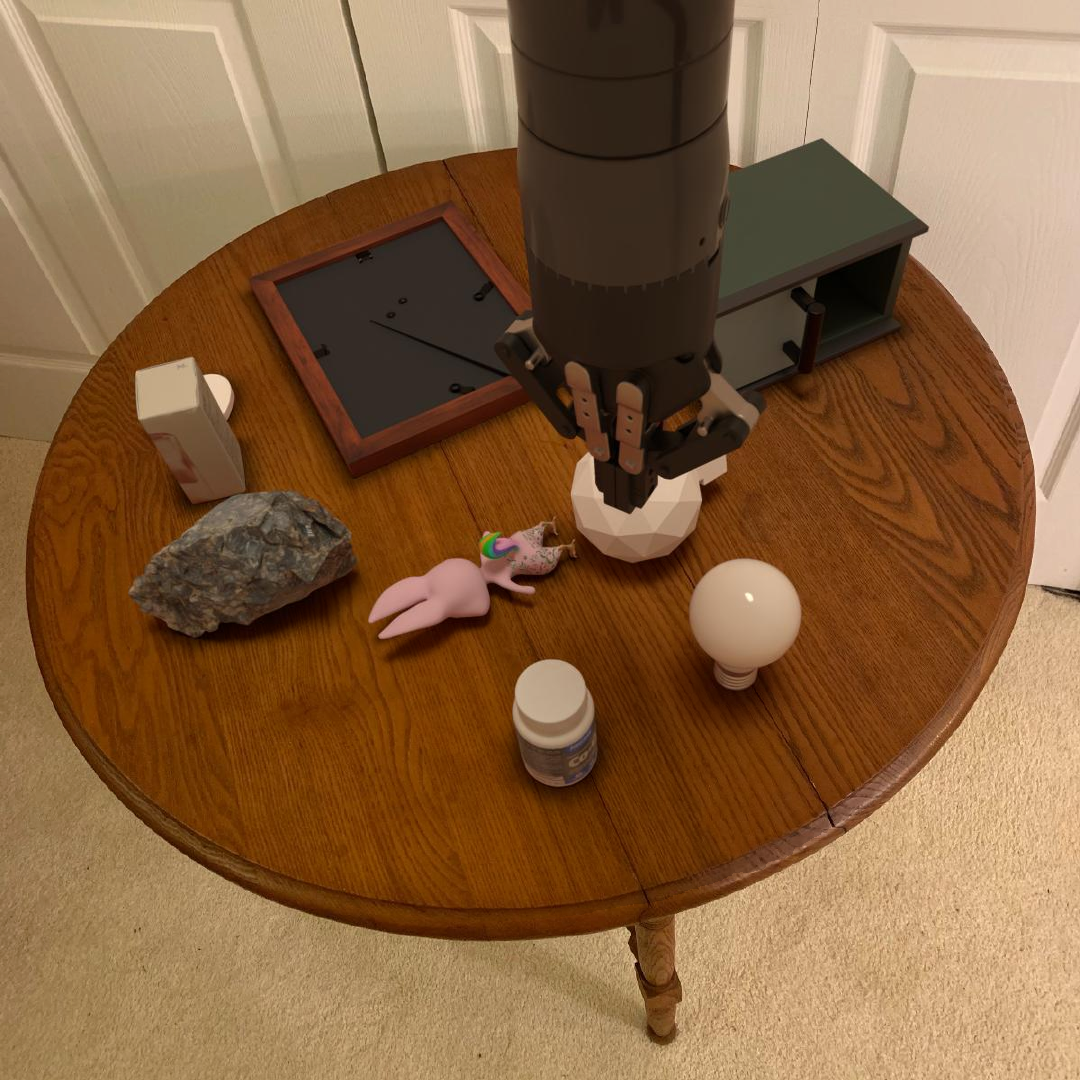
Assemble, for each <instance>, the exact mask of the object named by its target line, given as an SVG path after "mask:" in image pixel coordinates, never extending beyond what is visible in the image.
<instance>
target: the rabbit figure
mask: <svg viewBox="0 0 1080 1080" xmlns="http://www.w3.org/2000/svg"><path fill="white" fill-rule="evenodd" d="M556 518H557V516H556V515H555V516H554V517H553V518H552V520H551V521H544V520H543V521H540V522H539V523H538V524H537V525H536V526H533V527H530V528H528V529H524V530H518V531H516V532H514V533H513V534H512V535H511V536H510V537H499V536H500V535H501V534H502V531H497V532H491V531H489V530H486V531H484V532H483V534H482V537H481V538H480V540H479V542H478V551H479V553H480V554H479V556H480V562H481V566H480V567H479V566H477V564H475V563H474V562H472V561H471V560H468V559H466V558H458V557H456V558H447V559H445V560H444V561H442V562H441V563H439V564H437V565H436V566H434V567H432V568H431V569H430V570H429V571H428V572H427V573H425V574H424V575H422V576H409V577H406V578H403V579H401V580H398V581H397V582H395V583H394V584H392V585H390V586H388V587H387V588H386V589H385V590H384V591H383V592H382V593H381V594H380V595H379V597H378V598H377V600H376V601H375V603H374V605H373V607H372V608H371V611H370V613H369V616H368V621H367V622H368V623H369V624H374V623H376V622H377V621H379V620H382V619H385V618H388V617H389V616H392V615H394V614H396V613H398V612H400V611H403V610H405V609H408V608H409V609H408V610H406V611H404V612H402V613H401V614H399V615H398V616H397V617H395V618H394V619H393V620H392V621H391V622H389V624H388V625H387V626H386V627H385V628H384V629H383V630H382V631H381V632H380V633H379V634H378V636H377V637H378V638H379V639H380V640H381V639H382V640H386V639H391V638H394V637H396V636H397V637H398V636H400V635H403V634H407V633H411V632H414V631H418V630H421V629H425V628H429V627H432V626H435V625H438V624H440V623H442V622H444V620H446V619H448V618H453V619H454V618H455V619H456V618H457V619H458V618H471V617H472V618H473V617H482V616H485V615H486V614H487V613H488V612H489V609H490V606H491V598H490V593H489V590H488V586H487V585H488V584H496V585H498V586H500V587H502V588H504V589H507V590H508V591H511V592H515V593H519V594H523V595H524V594H525V595H534V594H535V593H536V588H535V587H534V586H532V585H521V584H520V585H519V584H517V583H515V582H514V581H513V580H511V579H512V578H514V577H515V576H516V575H532V576H533V575H534V576H542V575H546V574H549V573H550V572H552V571H553V570H554V569H555V568H556V567H557V564H558V563H559V560H560V558H561V555H562V553H563V552H564V550H565V549H567V550H568V551H569V556H570V557H571V558H577V557H578V555H576V544H575V543H574V542H575V541H576V538H575V539H573V540H572V541H571V543H570V544H559V546H547V547H546V546H544V532H545V529H546V528H547V527H548V528H549V529H550V533H551V534H555V535H556V536H559V533H558V532H557V521H556ZM410 607H411V608H410Z"/></svg>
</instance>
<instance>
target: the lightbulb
mask: <svg viewBox="0 0 1080 1080" xmlns="http://www.w3.org/2000/svg"><path fill="white" fill-rule="evenodd" d="M802 616H803V615H802V604H801V599H800V597H799V594H798V591H797V590H796V588H795V586H794V584H793V583H792V581H791V580H790V579H789V578H788V577H787V576H786V575H785V573H783V571H781V570H780V569H779V568H777V567H776V566H774V565H772V564H770V563H769V562H765V561H763V560H759V559H756V558H749V557H748V558H744V557H743V558H742V557H741V558H734V559H729V560H726V561H723V562H721V563H719V564H717V565H715V566H714V567H712V568H710V569H709V570H708V571H707V572H706V573H705V574H704V575H702V577H701V578H700V580H699V581H698V582H697V584H696V585H695V587H694V589H693V591H692V593H691V597H690V600H689V606H688V619H689V625H690V628H691V632H692V635H693V637H694V638H695V641H696V642H697V644H698V646H699V647H700V648H701V650H703V651H704V653H705V654H706V655H708V656H709V657H710V658H711V659H713V660H714V664H713V674H714V678H715V680H716V681H717V683H718V684H719V685H720V686H721V687H723V688H725V689H727V690H730V691H734V692H735V691H737V692H738V691H739V692H740V691H744V690H746V689H748V688H750V687H751V686H752V685H753V684H754V683H755V681H756V679H757V675H758V670H759V668H762V667H765V666H768V665H771V664H773V663H774V662H776V661H777V660H779V659H780V658H781V657H783V656H784V655H785V654H786V653H787V652H788V651H789V650H790V649H791V647H792V646H793V645H794V643H795V641H796V639H797V638H798V635H799V632H800V629H801V625H802Z"/></svg>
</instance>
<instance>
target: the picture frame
mask: <svg viewBox="0 0 1080 1080" xmlns="http://www.w3.org/2000/svg"><path fill="white" fill-rule="evenodd" d="M247 280H248V282H249V285H250V288H251V289H252V290H251V291H252V293H253V294H254V297H255V298H256V300H257V302H258V303H259V306H260V307H261V310H262V311H263V313H264V315H265V317H266V318H267V320H268V322H269V324H270V326H271V328H272V329H273V331H274V333H275V335H276V337H277V339H278V340H279V343H280V344H281V346H282V348H283V350H284V352H285V354H286V355H287V357H288V359H289V361H290V363H291V365H292V367H293V369H294V370H295V372H296V374H297V376H298V378H299V379H300V381H301V383H302V385H303V387H304V389H305V390H306V393H307V394H308V396H309V398H310V400H311V402H312V403H313V405H314V407H315V409H316V411H317V413H318V415H319V416H320V418H321V420H322V422H323V425H324V426H325V427H326V429H327V431H328V433H329V435H330V437H331V438H332V441H333V442H334V443H335V446H336V449H338V451H339V454H340V455H341V457H342V459H343V460H344V461H343V462H344V463H345V464H346V466H347V468H348V470H349V472H350V474H351V475H352V477H353V479H356V478H358V477H361V476H362V475H365V474H367V473H369V472H372V471H375V470H376V469H379V468H381V467H383V466H385V465H387V464H390V463H392V462H395V461H396V460H399V459H401V458H404V457H406V456H409V455H410V454H413V453H415V452H417V451H419V450H421V449H424V448H426V447H428V446H431V445H433V444H435V443H438V442H440V441H442V440H445V439H447V438H449V437H451V436H454V435H456V434H458V433H460V432H462V431H465V430H468V429H470V428H472V427H474V426H477V425H479V424H481V423H483V422H485V421H488V420H490V419H492V418H495V417H497V416H499V415H501V414H504V413H506V412H508V411H511V410H513V409H515V408H517V407H519V406H522V405H524V404H526V403H528V402H531V401H533V400H532V399H531V398H530V397H529V395H528V394H527V393H526V391H525V390H524V389H523V388H522V386H521V385H520V384H519V383H518V381H517V380H516V379H515V377H514V376H513V375H512V374H511V372H510V371H509V370H508V369H507V367H506V366H505V365H504V363H503V362H502V361H501V360H500V358H499V357H498V356H497V354H496V353H495V351H494V345H495V343H496V342H497V341H498V340H499V339H500V338H501V336H502V335H503V334H504V333H505V332H506V331H507V329H508V328H509V327H510V326H511V325H512V324H513V322H514V321H515V320H516V319H517V318H518V317H519V315H520V314H521V313H522V312H523V311H524V310H532V302H531V296H529V294H528V293H527V291H525V289H524V288H523V287H522V285H521V284H520V282H518V281H517V279H516V278H515V276H514V275H513V274H512V273H511V272H510V270H509V269H508V268H507V267H506V266H505V264H504V263H503V262H502V260H500V258H499V257H498V255H497V254H496V253H495V252H494V250H493V249H492V248H491V247H490V246H489V244H488V243H487V242H486V241H485V239H484V238H483V237H482V236H481V234H480V233H479V232H478V231H477V229H476V228H475V227H474V226H473V224H472V223H471V222H470V221H469V219H468V218H467V217H466V216H465V215H464V213H463V212H462V211H461V210H460V208H459V207H458V206H457V205H456V203H455V202H454V201H453V200H452V199H449V200H447V201H444V202H441V203H439V204H436V205H433V206H431V207H428V208H425V209H423V210H421V211H418V212H415V213H413V214H409V215H407V216H405V217H402V218H399V219H397V220H394V221H391V222H389V223H387V224H384V225H380V226H379V227H376V228H373V229H371V230H369V231H368V230H367V231H366V232H363V233H360V234H358V235H356V236H353V237H350V238H347V239H345V240H341V241H340V242H337V243H335V244H332V245H329V246H326V247H324V248H321V249H319V250H316V251H314V252H311V253H309V254H305V255H304V256H301V257H298V258H296V259H292V260H290V261H288V262H285V263H282V264H280V265H278V266H275V267H272V268H269V269H267V270H264V271H262V272H259V273H257V274H254V275H252V276H251V275H250V276H249V277H247ZM561 388H564V387H563V385H562V384H560V386H559V387H558V389H561Z"/></svg>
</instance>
